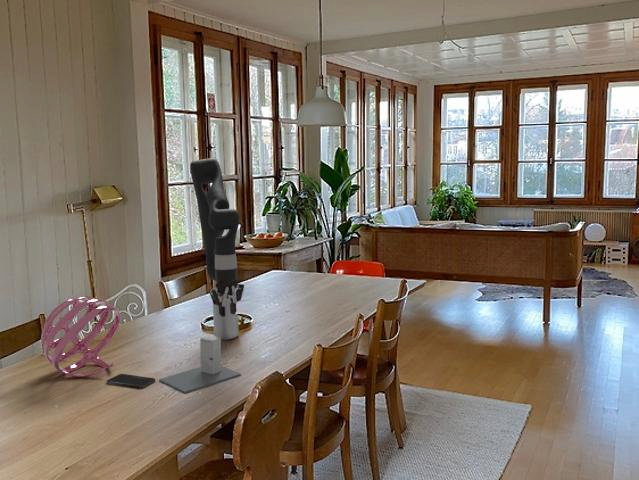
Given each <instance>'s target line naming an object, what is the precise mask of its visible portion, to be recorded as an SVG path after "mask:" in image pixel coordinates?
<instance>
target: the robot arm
mask: <svg viewBox="0 0 639 480" xmlns="http://www.w3.org/2000/svg"><path fill="white" fill-rule="evenodd" d="M189 167H190V168H189V169H190V171H189V172H190V176H191V180H192V184H193V189H194V192H195V197H196V201H197V208H198V216H199V224H200V229H201V233H202V237H203V245H204V252H205V260H206V261H205V263H206V271H207V276H208V278H209V279H210V280H212V281H215V282H216V284H215V287H213V288H210V289H209V290H208V293H209V296H210V298H211V301H212V310H213V311H212V316H213V336H215V337H219V338H221V341H223V340H224V341H225V340H227V341H228V340H232V339H235V338H237V337H238V336H239V334H240V333H239V315H238V314H239V313H237V303H238V302H240V301H241V300H242V298H243V293H244V289H245V285H244V283H243V284H242V283H238V281H237V280H238V263H237V262H238V260H237V259H238V258H237V255H236V254H237V252H236V238H237V233H238V229H239V225H240V220H241V217H240V213H239V211H238V210H237V209H235V208H230V202H229V199H228V196H227V194H226V191H225V184H224V178H223V174H222V169H221V166H220V163H219V161H218V159H217V158H215V157H209V158H203V159H197V160H192V161H191V162H190V165H189ZM205 184H211V185H210V187H209V188H208V190H207V191H205V189H204V187H203V185H205ZM227 230H228V231H227ZM225 231H227V233H226V234H224V233H225Z"/></svg>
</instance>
